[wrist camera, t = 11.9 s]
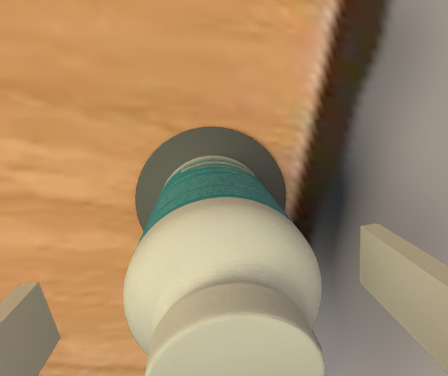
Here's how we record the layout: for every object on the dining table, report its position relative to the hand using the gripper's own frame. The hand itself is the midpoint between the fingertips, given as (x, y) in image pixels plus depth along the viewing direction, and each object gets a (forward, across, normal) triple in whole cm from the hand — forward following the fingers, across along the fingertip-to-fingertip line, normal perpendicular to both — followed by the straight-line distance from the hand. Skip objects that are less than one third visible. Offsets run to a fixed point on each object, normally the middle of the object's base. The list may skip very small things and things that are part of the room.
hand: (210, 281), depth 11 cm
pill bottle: (+9, +1, 0) cm, 9 cm away
